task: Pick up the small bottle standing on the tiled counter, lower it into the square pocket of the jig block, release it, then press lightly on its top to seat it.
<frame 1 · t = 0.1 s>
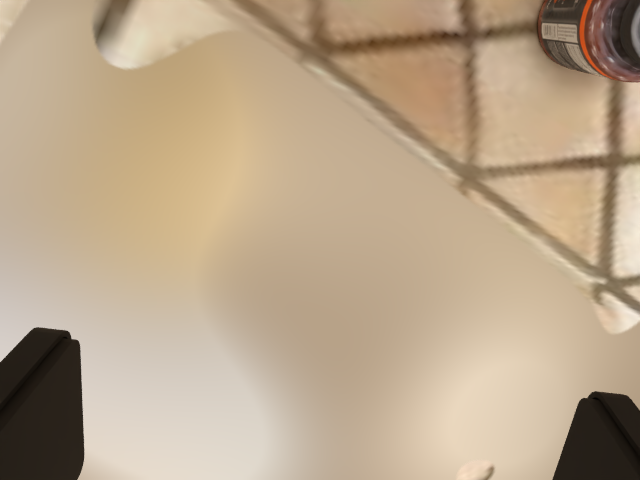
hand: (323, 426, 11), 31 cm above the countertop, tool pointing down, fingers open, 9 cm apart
supplement bottle: (580, 20, 37), on the countertop
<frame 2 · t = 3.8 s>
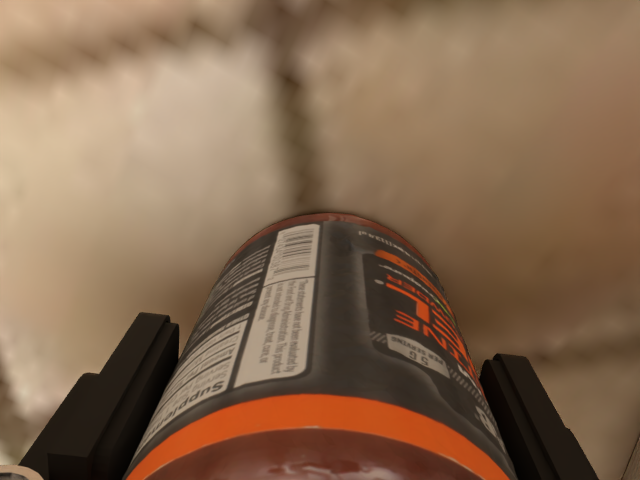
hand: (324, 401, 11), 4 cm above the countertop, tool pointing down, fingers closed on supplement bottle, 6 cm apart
supplement bottle: (327, 310, 15), on the countertop, touching gripper
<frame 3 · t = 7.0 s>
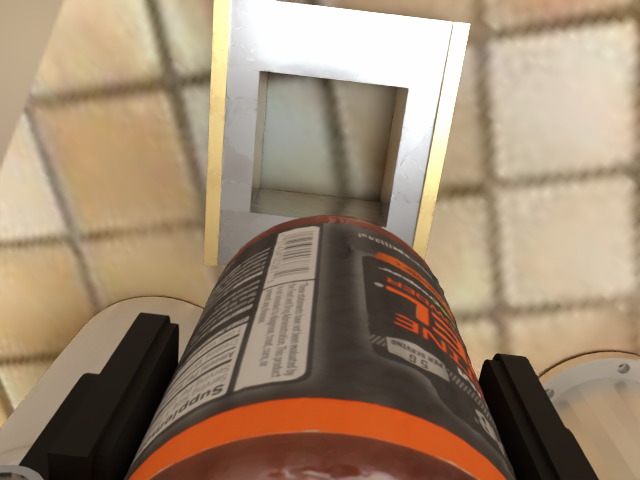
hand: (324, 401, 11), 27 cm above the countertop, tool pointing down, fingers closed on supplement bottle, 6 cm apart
utensil holder: (167, 373, 44), on the countertop
jig: (326, 135, 37), on the countertop
supplement bottle: (327, 311, 15), point 23 cm above the countertop, touching gripper
when the fingers open (6 cm above the countertop, at t = 10.2 s): supplement bottle drops 3 cm, resting in jig.
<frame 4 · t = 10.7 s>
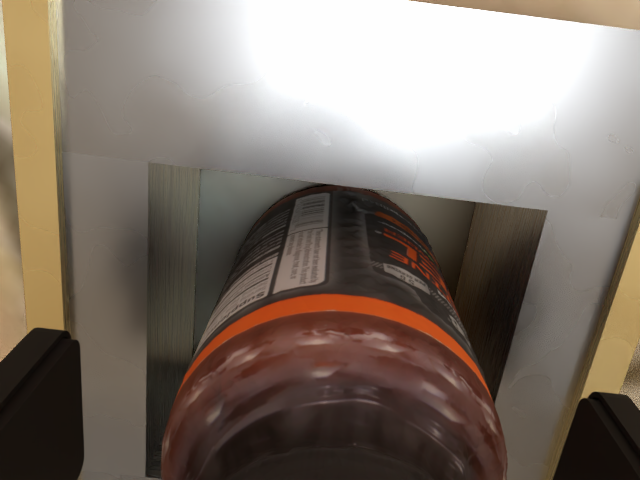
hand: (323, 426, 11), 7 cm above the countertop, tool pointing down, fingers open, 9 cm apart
jig: (327, 267, 18), on the countertop
supplement bottle: (335, 269, 18), resting in jig
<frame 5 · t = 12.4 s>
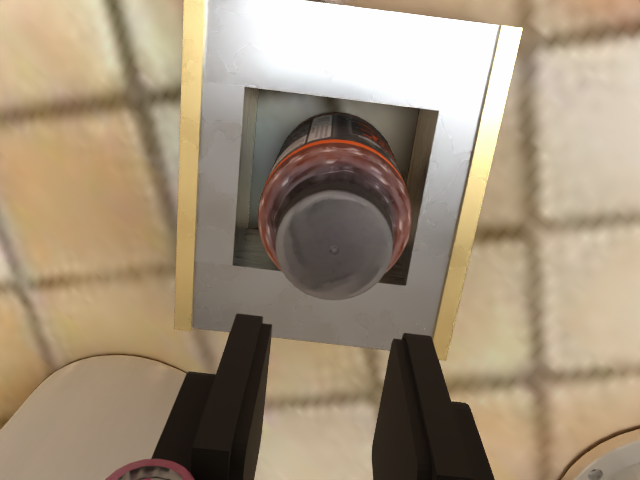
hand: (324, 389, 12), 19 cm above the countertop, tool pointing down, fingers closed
utensil holder: (137, 442, 37), on the countertop
jig: (331, 164, 30), on the countertop
supplement bottle: (335, 166, 30), resting in jig
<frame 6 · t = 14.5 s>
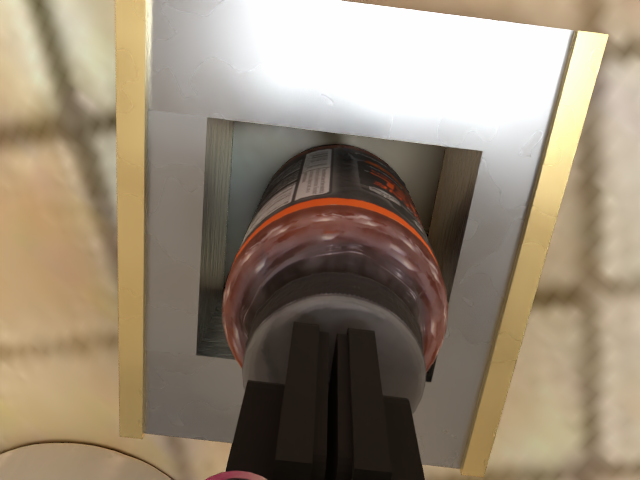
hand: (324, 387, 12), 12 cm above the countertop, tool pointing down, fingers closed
jig: (330, 210, 23), on the countertop
supplement bottle: (335, 213, 23), resting in jig
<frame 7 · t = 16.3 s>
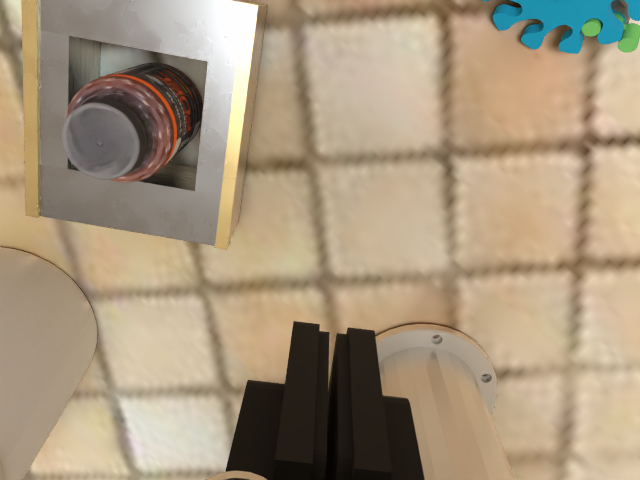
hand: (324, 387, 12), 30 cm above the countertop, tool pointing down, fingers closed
utensil holder: (17, 321, 47), on the countertop
jig: (157, 103, 39), on the countertop
supplement bottle: (162, 105, 40), resting in jig
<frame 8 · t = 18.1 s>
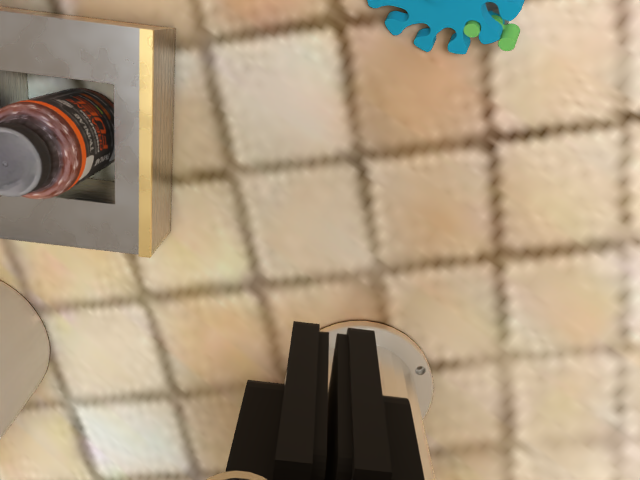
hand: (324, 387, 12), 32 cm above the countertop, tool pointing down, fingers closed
jig: (84, 125, 42), on the countertop
supplement bottle: (88, 127, 43), resting in jig
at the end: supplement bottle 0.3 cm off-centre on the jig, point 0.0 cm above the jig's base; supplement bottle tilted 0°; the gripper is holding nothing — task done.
